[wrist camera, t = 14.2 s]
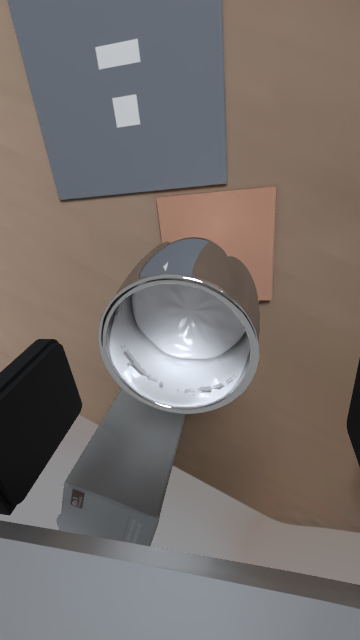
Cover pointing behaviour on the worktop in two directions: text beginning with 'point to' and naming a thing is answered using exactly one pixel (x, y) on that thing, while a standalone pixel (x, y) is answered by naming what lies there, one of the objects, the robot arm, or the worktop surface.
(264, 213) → the coaster
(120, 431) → the skincare box
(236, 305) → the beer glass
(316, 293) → the worktop surface
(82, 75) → the blue-grey tile
